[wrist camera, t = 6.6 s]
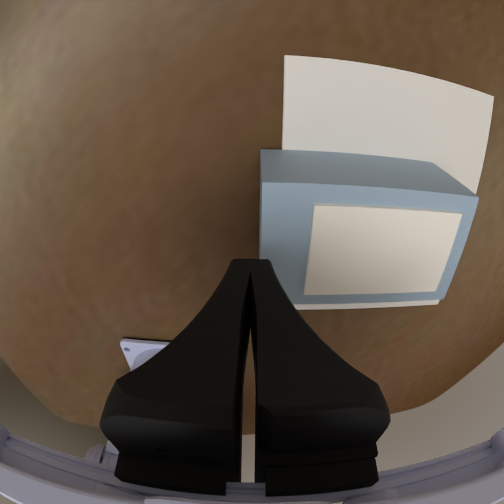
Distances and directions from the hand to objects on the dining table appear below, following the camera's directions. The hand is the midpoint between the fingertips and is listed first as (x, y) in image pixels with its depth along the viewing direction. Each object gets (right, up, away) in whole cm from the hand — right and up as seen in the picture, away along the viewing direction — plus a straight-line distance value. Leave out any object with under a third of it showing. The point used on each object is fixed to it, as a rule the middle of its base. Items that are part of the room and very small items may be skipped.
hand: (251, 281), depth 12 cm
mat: (+8, +4, +6) cm, 11 cm away
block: (0, +3, +4) cm, 5 cm away
